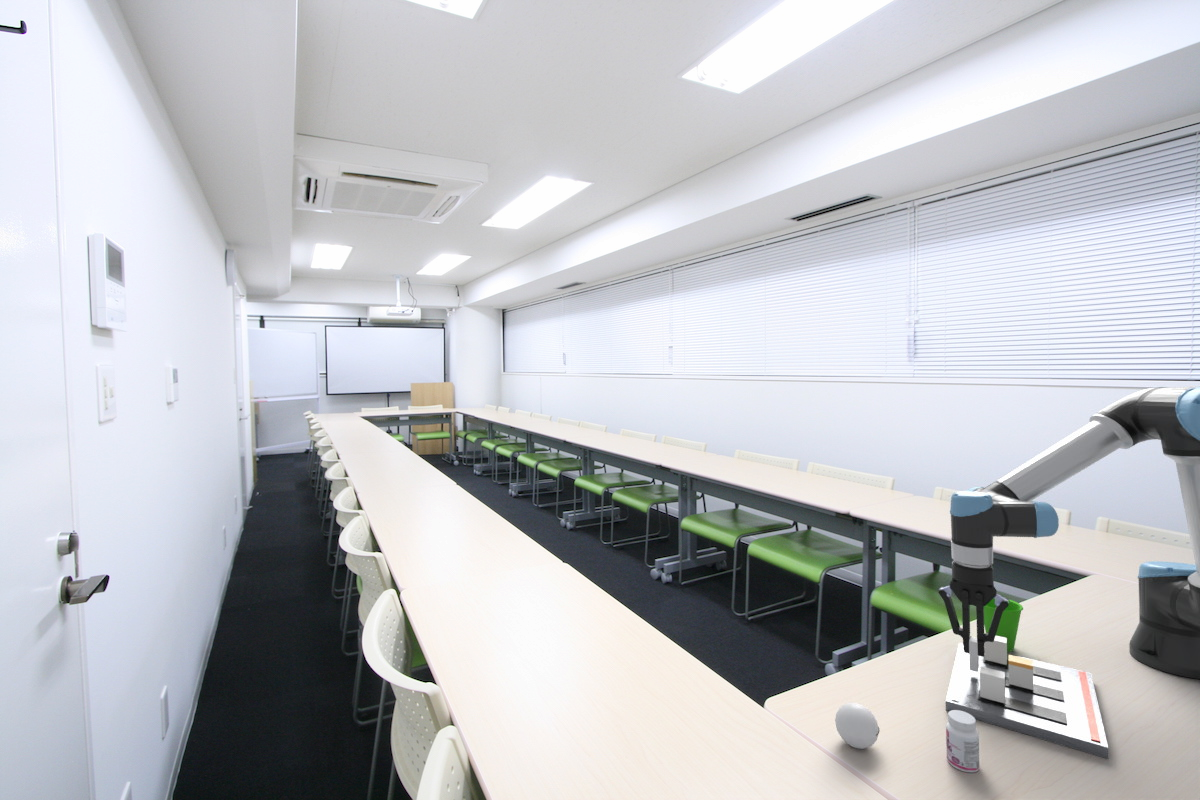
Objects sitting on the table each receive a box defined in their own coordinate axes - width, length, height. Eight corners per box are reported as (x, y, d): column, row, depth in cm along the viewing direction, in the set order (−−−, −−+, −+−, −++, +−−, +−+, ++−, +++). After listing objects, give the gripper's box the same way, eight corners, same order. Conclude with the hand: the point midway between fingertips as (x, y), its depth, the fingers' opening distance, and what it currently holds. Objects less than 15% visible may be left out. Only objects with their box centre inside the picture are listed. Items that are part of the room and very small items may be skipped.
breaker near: (1005, 696, 108) (1004, 672, 108) (1004, 703, 105) (1004, 678, 105) (981, 689, 110) (980, 666, 110) (980, 696, 108) (979, 672, 108)
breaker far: (1007, 659, 122) (1006, 637, 122) (1006, 664, 119) (1006, 643, 119) (985, 654, 124) (985, 633, 124) (984, 659, 122) (984, 638, 122)
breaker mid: (1033, 683, 112) (1032, 660, 112) (1033, 690, 110) (1032, 666, 109) (1009, 677, 114) (1008, 654, 114) (1008, 683, 112) (1008, 660, 112)
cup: (1032, 657, 127) (1031, 611, 127) (989, 654, 129) (989, 609, 129) (1011, 639, 136) (1010, 597, 136) (971, 637, 138) (971, 595, 138)
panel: (1090, 681, 116) (1090, 671, 116) (1108, 758, 93) (1108, 746, 93) (959, 650, 131) (959, 641, 131) (945, 710, 108) (945, 699, 108)
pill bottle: (940, 755, 95) (939, 709, 95) (964, 753, 95) (964, 707, 95) (960, 774, 90) (959, 726, 90) (986, 772, 91) (985, 723, 90)
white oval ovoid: (878, 763, 93) (877, 722, 93) (832, 749, 97) (831, 710, 97) (882, 731, 102) (881, 694, 102) (840, 720, 106) (839, 683, 106)
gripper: (1009, 563, 115) (1011, 670, 116) (939, 553, 124) (941, 653, 124) (1009, 573, 110) (1011, 685, 110) (935, 562, 118) (937, 666, 118)
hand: (974, 668), depth 117 cm, fingers closed
